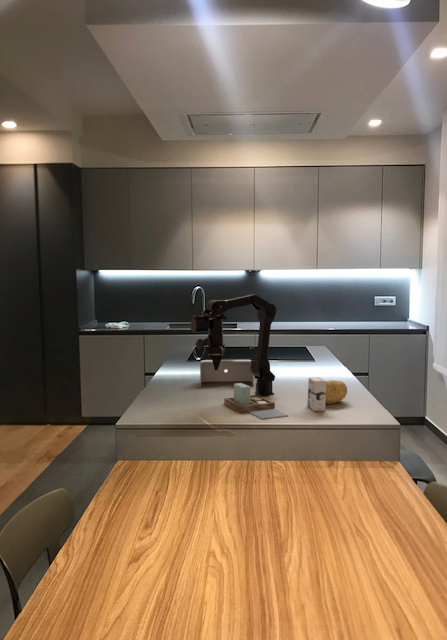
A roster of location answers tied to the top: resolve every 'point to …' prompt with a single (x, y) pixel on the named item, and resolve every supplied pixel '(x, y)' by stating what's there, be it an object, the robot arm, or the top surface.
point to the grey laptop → (236, 371)
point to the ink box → (316, 393)
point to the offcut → (255, 399)
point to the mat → (268, 413)
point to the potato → (335, 391)
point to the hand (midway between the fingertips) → (217, 368)
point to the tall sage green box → (241, 394)
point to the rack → (250, 407)
